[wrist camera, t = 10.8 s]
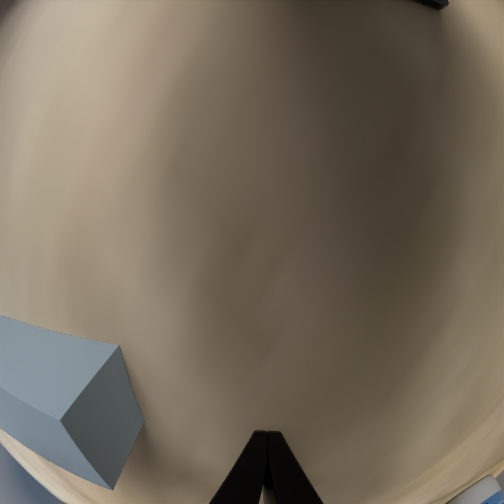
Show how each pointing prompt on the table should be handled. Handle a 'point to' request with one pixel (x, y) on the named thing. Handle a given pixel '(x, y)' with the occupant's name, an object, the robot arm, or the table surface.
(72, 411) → the peg
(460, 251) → the table surface
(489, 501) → the toiletry set
